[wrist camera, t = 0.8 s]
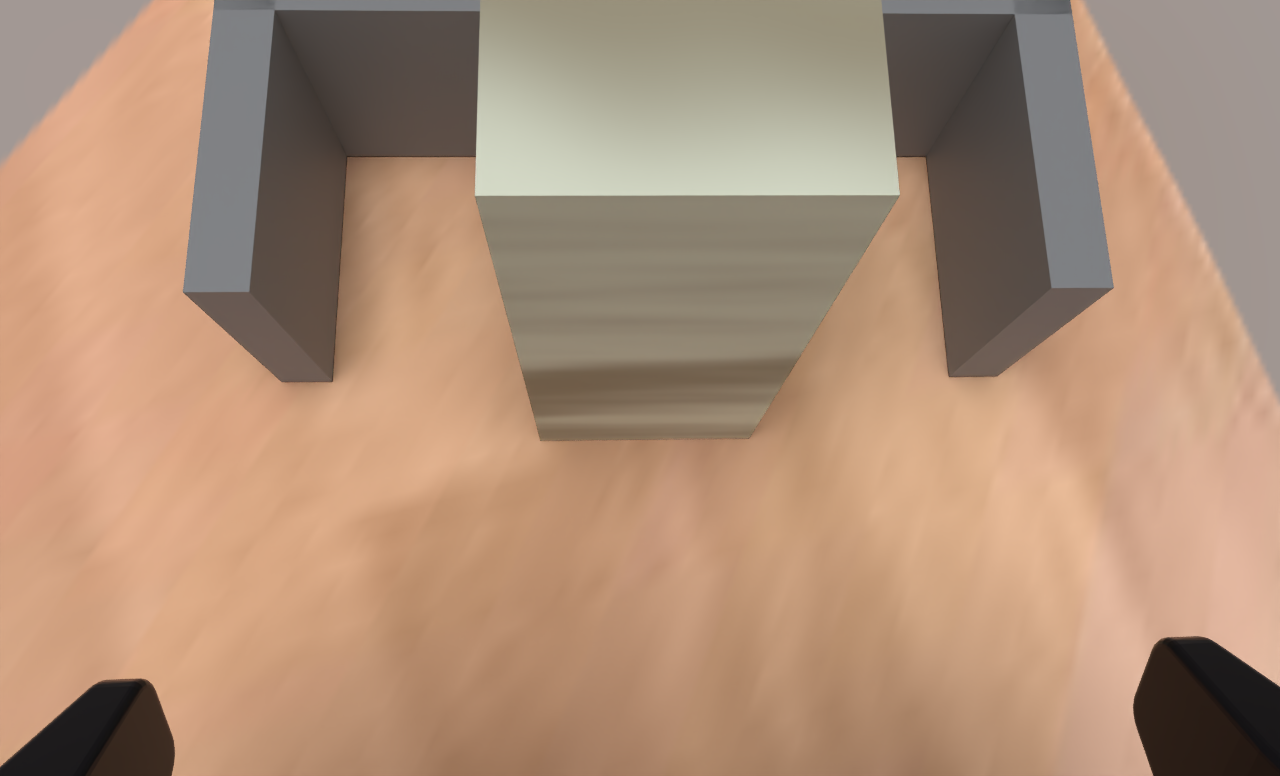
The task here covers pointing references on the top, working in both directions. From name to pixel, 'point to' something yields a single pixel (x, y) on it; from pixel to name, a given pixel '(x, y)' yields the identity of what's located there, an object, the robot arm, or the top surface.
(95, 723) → the robot arm
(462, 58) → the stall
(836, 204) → the sage block
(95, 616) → the top surface
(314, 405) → the top surface
